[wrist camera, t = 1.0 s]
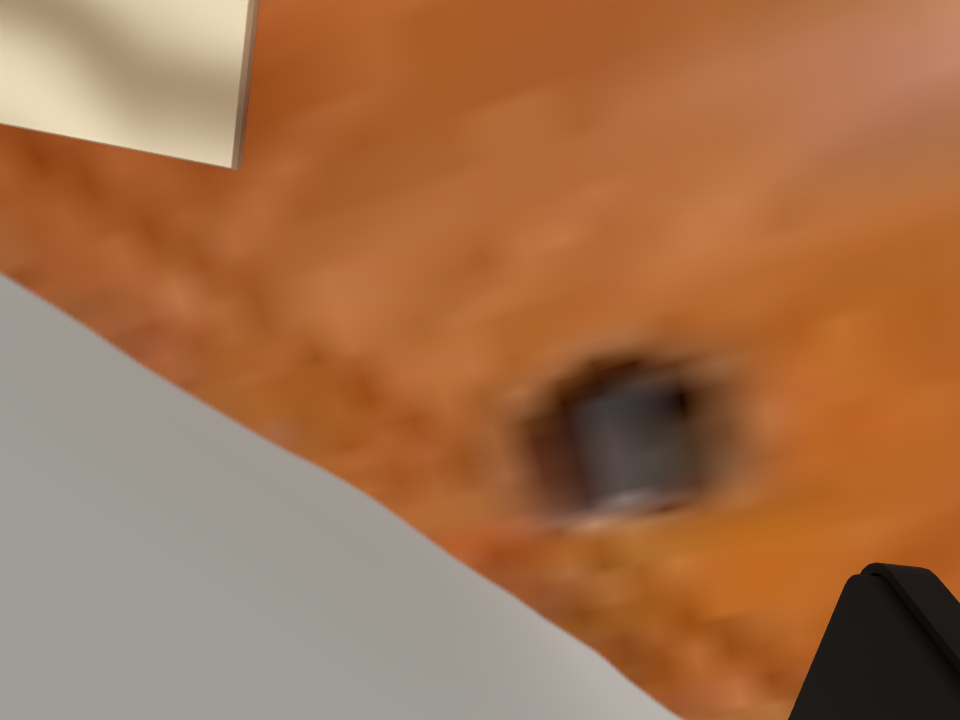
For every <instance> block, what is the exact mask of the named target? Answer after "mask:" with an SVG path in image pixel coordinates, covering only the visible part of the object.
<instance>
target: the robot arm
mask: <svg viewBox="0 0 960 720" xmlns="http://www.w3.org/2000/svg"><path fill="white" fill-rule="evenodd" d="M788 720H960V603H959V602H958V601H957V599H956V598H955V597H954V596H953V595H952V594H951V592H950V591H949V590H948V589H947V588H946V587H945V585H944V584H943V583H942V582H941V581H940V580H939V578H938V577H937V576H936V575H935V574H934V573H932V572H931V571H930V570H928V569H925V568H921V567H912V566H903V565H894V564H885V563H872V564H869V565H868V566H866V567H865V568H864V569H863V570H862V572H861V573H860V574H857V575H853V576H852V577H850V578H849V579H848V581H847V582H846V584H845V586H844V588H843V591H842V593H841V595H840V598H839V600H838V603H837V605H836V607H835V610H834V612H833V614H832V617H831V619H830V622H829V624H828V626H827V629H826V631H825V633H824V636H823V638H822V641H821V643H820V645H819V648H818V650H817V652H816V655H815V657H814V660H813V662H812V664H811V667H810V669H809V672H808V674H807V676H806V679H805V681H804V683H803V686H802V688H801V691H800V693H799V695H798V698H797V700H796V702H795V705H794V707H793V710H792V712H791V714H790V717H789V719H788Z"/></svg>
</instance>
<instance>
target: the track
mask: <svg viewBox="0 0 960 720" xmlns="http://www.w3.org/2000/svg"><path fill="white" fill-rule="evenodd" d="M258 8H259V0H0V124H2V125H7V126H12V127H18V128H23V129H28V130H33V131H38V132H43V133H48V134H53V135H59V136H64V137H69V138H74V139H79V140H84V141H89V142H94V143H99V144H105V145H110V146H115V147H120V148H125V149H130V150H135V151H140V152H145V153H151V154H156V155H161V156H166V157H171V158H176V159H181V160H186V161H192V162H197V163H202V164H207V165H212V166H217V167H222V168H227V169H232V170H238V168H239V167H240V166H241V165H242V157H243V148H244V139H245V129H246V120H247V111H248V101H249V92H250V83H251V73H252V64H253V55H254V45H255V36H256V26H257V17H258Z"/></svg>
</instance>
